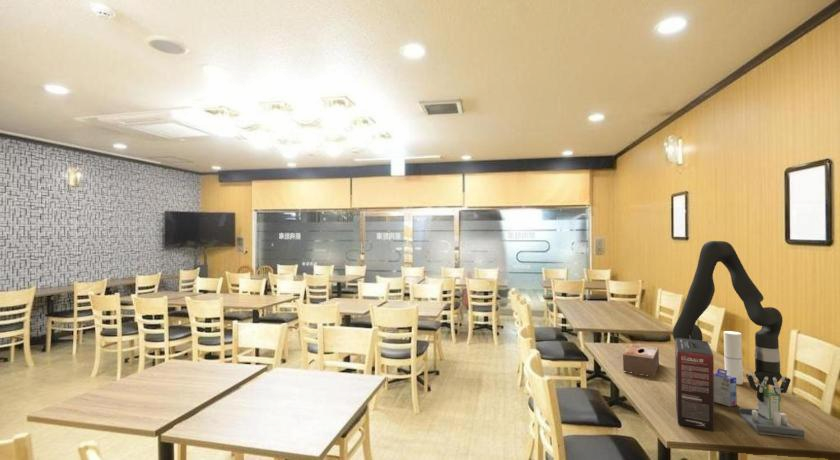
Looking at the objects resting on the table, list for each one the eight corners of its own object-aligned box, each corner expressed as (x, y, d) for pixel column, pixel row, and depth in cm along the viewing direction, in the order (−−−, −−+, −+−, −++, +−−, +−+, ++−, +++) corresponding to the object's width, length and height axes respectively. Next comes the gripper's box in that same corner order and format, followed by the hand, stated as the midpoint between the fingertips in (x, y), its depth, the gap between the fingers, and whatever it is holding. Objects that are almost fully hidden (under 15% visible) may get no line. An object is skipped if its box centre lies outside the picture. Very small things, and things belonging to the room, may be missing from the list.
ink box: (781, 421, 155) (779, 385, 155) (769, 420, 155) (767, 385, 156) (769, 413, 161) (768, 379, 162) (758, 412, 162) (756, 379, 162)
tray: (757, 433, 153) (757, 411, 153) (739, 414, 169) (738, 394, 169) (804, 438, 148) (803, 416, 148) (780, 418, 164) (779, 398, 164)
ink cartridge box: (737, 405, 178) (736, 372, 178) (731, 407, 176) (730, 374, 176) (713, 397, 187) (712, 365, 187) (706, 399, 184) (705, 367, 185)
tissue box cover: (653, 377, 214) (652, 358, 215) (623, 372, 223) (623, 354, 223) (658, 364, 235) (658, 347, 235) (631, 360, 244) (630, 343, 244)
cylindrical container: (727, 383, 204) (726, 333, 204) (723, 378, 210) (721, 330, 211) (745, 385, 201) (743, 334, 201) (739, 380, 207) (738, 331, 208)
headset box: (675, 402, 181) (673, 329, 182) (710, 408, 175) (707, 332, 175) (677, 425, 160) (675, 342, 161) (717, 432, 154) (714, 346, 154)
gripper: (749, 359, 158) (751, 403, 157) (795, 362, 153) (796, 408, 153) (741, 354, 165) (742, 396, 164) (784, 357, 160) (786, 400, 160)
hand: (768, 401), depth 159 cm, fingers closed on ink box, 4 cm apart
